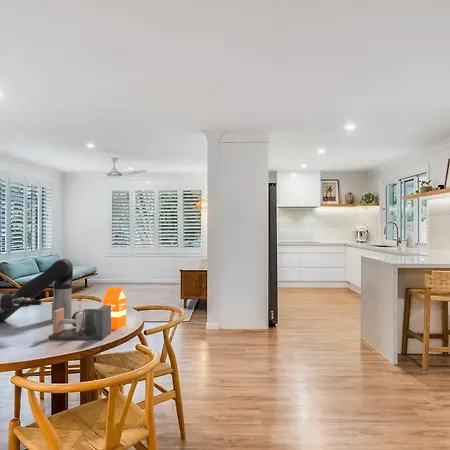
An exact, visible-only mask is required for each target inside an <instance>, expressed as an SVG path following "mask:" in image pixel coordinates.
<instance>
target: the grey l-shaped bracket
mask: <svg viewBox="0 0 450 450" xmlns="http://www.w3.org/2000/svg"><path fill="white" fill-rule="evenodd" d="M83 310H84V327H83V329H82V330H81V331H79V332H76V328H75V329H70V328H69V329H67V328H66V329H65V328H64V329H63V330H62V331H60V332H58V333H53V332H52V333H51V334H50V335H48V338H47V339H48V340H51V341H52V340H54V341H56V340H57V341H58V340H59V341H60V340H61V341H62V340H64V341H69V340H71V341H72V340H73V341H74V340H75V341H78V340H79V341H81V340H82V341H85V340H86V341H89V340H90V341H103V340H105V339H106V338H107V337H108V336H110V335H111V334H112V329H111V305H104V306H103V305H102V306H101V307H99V308H84V309H83Z"/></svg>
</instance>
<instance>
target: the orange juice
mask: <svg viewBox="0 0 450 450" xmlns="http://www.w3.org/2000/svg"><path fill="white" fill-rule="evenodd" d="M102 302H103V303H102V306H104V305H111V330H120V329H122V328H124V327H125V326H127V297H126V295H125V292H124V289H123V288H122V287H121V288H120V287H106V291H105V294H104V296H103V299H102Z"/></svg>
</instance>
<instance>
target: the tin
mask: <svg viewBox="0 0 450 450" xmlns="http://www.w3.org/2000/svg"><path fill="white" fill-rule="evenodd" d="M81 312H83V328H84V309H82V310H81ZM78 313H79V310H78V311H76V312H74V313H73V315H71V319H76V314H78ZM71 325H72V326H73V327H74V328H76V324H71Z"/></svg>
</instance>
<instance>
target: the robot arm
mask: <svg viewBox="0 0 450 450" xmlns="http://www.w3.org/2000/svg"><path fill="white" fill-rule="evenodd" d="M73 270H74V268H73V263H72V262H71V260H69V259H66V258H62V259H59V260H58V259H57V260H56V261H55V262H54V263H53V264H51V266H49V267H48V268H47V269H46V270H45V271H43V272H42V273H40V274H39V275H37V276H35V277H34V278H32V279H30V280H29V281H27V282H26V283H24V284H23V285H21V286H20V287H19V288H18V289H17V290H16V293H0V323H3V322H5V321H6V320H7V319H9V318H10V317H11V316H12V315H13V314H14V313H15V312H18V310H19V309H21V308H23V307H24V308H26V307H27V308H28V307H29V306H30V307H31V306H41V305H42V300H41V299H35V298H36V297H38V296H39V295H41V293H43V292H44V291H45V290H46V289H47V288H48V287H49V286H50V285H51V284H53V302H51V320H52V321H53V311H55V310H58V309H60V308H64V319H72V285H73V284H72V283H73V279H74V276H73V275H74V271H73Z"/></svg>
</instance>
